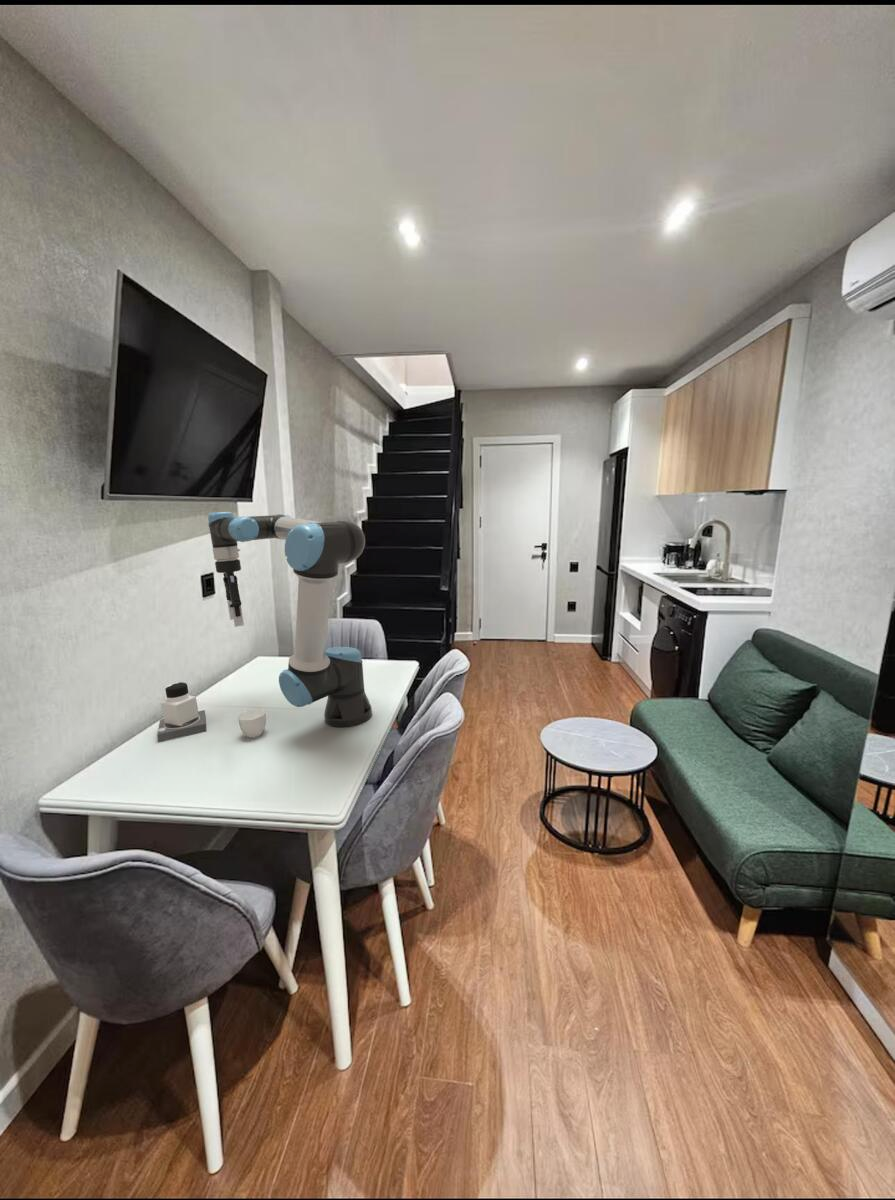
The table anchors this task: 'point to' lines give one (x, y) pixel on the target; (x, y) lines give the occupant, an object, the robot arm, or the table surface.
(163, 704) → the medicine bottle
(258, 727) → the cup
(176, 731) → the grey square dish
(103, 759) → the table surface
